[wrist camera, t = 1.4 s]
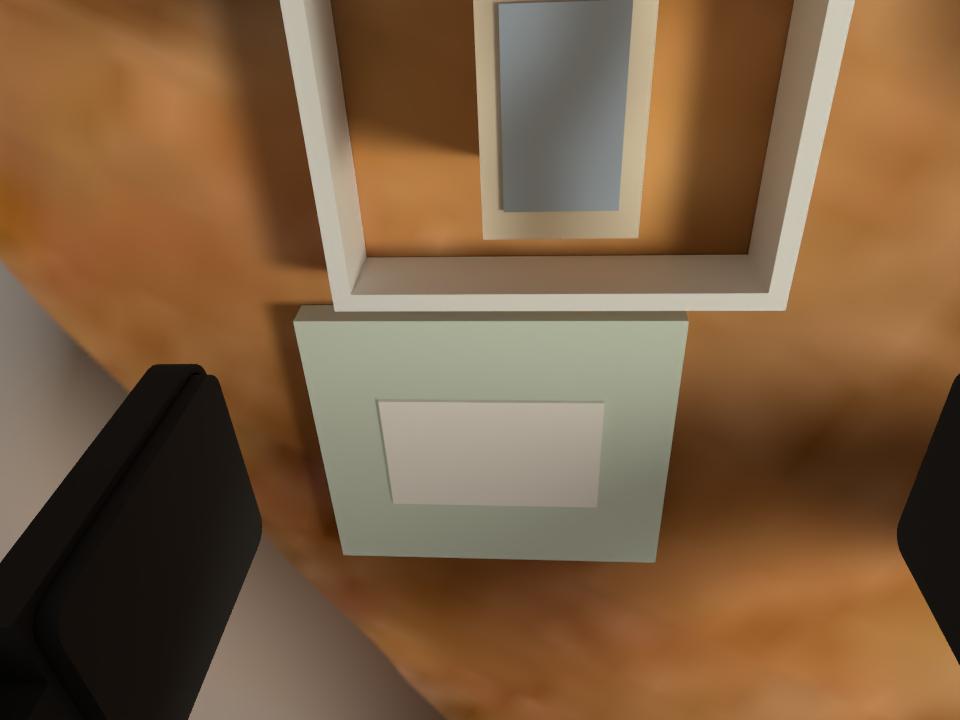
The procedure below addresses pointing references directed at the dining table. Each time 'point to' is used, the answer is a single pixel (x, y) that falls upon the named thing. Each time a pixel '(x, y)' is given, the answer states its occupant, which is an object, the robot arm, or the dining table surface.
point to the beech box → (563, 115)
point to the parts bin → (572, 278)
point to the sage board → (495, 429)
